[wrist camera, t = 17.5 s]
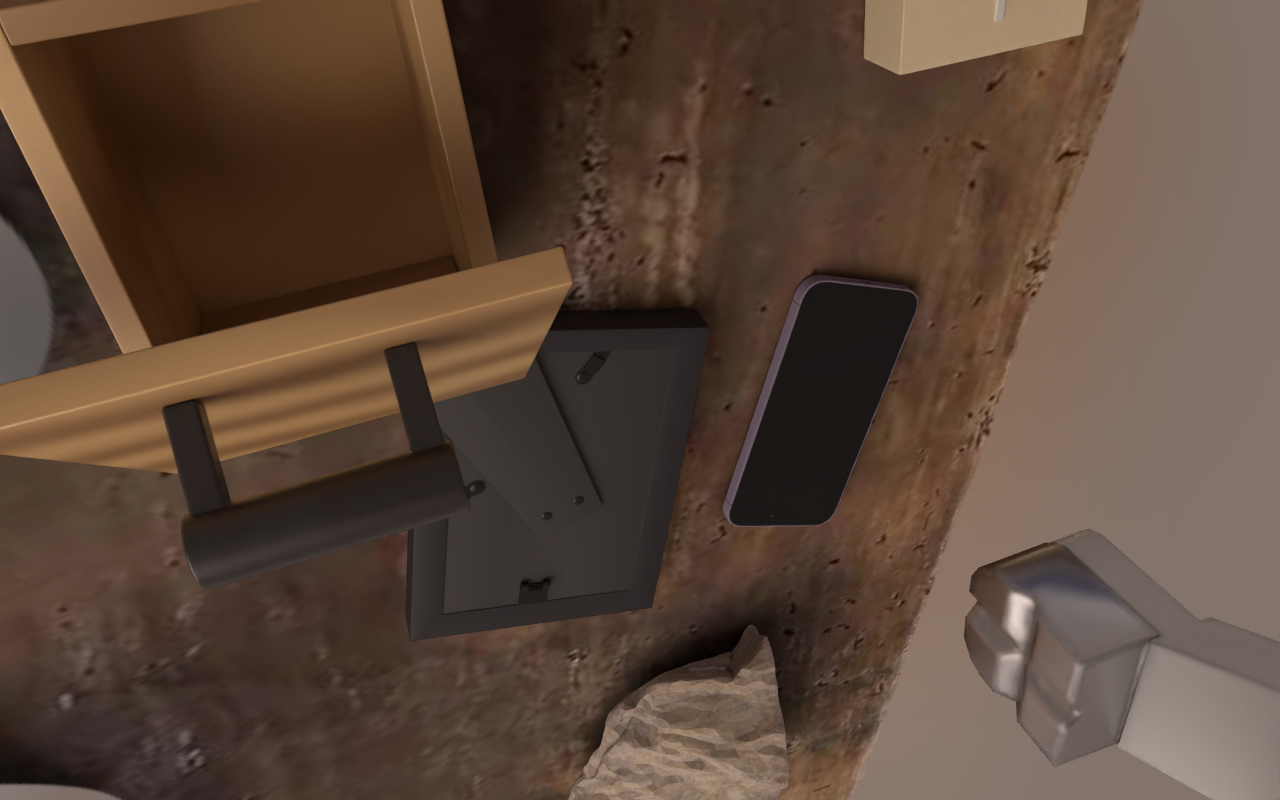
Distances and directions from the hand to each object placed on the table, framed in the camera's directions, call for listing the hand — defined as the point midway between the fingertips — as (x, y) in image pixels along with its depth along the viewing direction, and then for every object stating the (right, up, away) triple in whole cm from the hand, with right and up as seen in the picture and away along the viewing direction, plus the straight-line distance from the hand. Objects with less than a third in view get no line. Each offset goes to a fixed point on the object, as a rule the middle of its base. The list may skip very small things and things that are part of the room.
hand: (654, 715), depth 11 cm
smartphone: (+9, +3, +41) cm, 42 cm away
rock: (+1, -16, +51) cm, 54 cm away
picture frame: (-5, 0, +37) cm, 38 cm away
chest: (-14, +14, +25) cm, 31 cm away
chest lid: (-9, +4, +14) cm, 17 cm away
